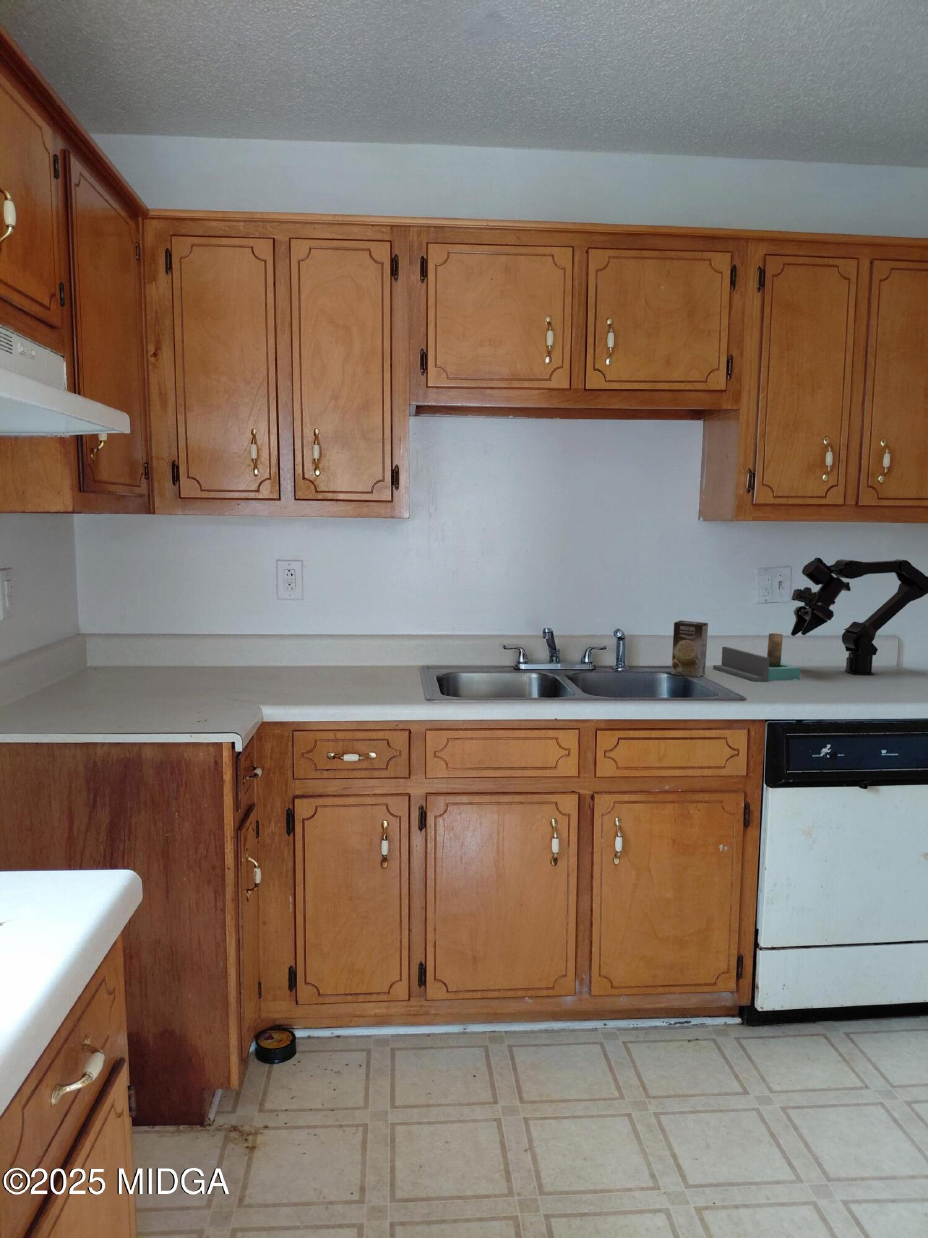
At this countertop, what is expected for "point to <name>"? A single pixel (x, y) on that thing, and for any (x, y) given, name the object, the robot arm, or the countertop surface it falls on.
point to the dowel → (774, 649)
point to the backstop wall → (744, 664)
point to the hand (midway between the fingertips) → (797, 635)
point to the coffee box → (689, 648)
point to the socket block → (784, 672)
